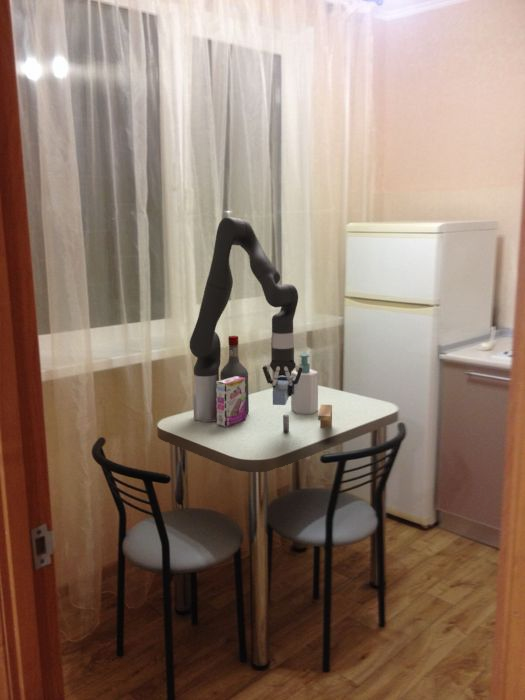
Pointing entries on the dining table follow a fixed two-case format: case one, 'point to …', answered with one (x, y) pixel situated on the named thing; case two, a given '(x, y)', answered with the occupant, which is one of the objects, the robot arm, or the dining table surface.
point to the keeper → (325, 416)
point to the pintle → (285, 423)
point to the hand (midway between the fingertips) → (283, 395)
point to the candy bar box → (231, 401)
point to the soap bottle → (305, 389)
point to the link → (282, 390)
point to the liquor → (235, 366)
